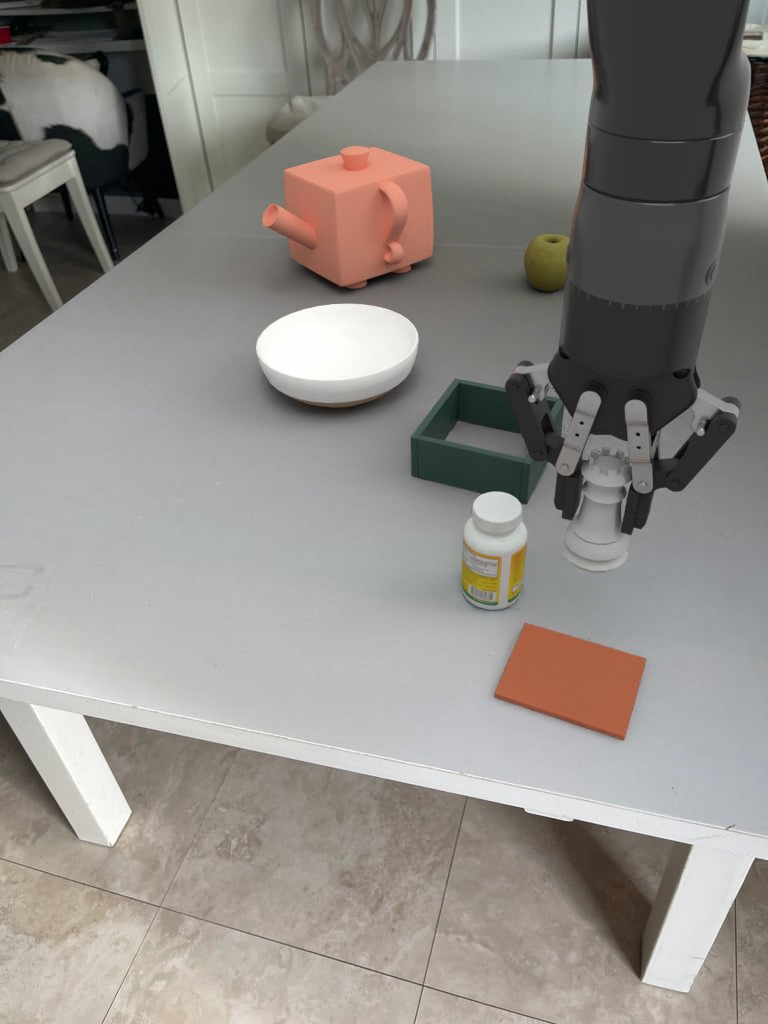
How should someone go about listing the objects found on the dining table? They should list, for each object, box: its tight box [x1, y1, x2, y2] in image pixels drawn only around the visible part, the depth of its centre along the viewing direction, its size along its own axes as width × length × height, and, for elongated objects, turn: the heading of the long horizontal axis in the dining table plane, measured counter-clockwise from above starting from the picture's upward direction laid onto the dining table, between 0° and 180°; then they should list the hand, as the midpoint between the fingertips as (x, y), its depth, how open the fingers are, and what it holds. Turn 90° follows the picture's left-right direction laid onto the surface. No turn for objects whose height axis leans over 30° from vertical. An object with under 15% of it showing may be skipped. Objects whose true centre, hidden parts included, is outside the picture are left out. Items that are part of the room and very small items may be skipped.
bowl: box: [255, 303, 420, 408], centre depth 98 cm, size 20×20×6 cm
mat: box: [493, 622, 647, 741], centre depth 63 cm, size 10×8×1 cm
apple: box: [523, 233, 570, 293], centre depth 117 cm, size 8×8×7 cm
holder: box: [409, 378, 565, 505], centre depth 85 cm, size 13×13×5 cm
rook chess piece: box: [560, 446, 632, 574], centre depth 53 cm, size 4×4×8 cm
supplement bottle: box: [460, 492, 528, 611], centre depth 68 cm, size 5×5×10 cm
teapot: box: [262, 145, 435, 290], centre depth 120 cm, size 25×23×18 cm
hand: (598, 518), depth 53 cm, fingers closed on rook chess piece, 3 cm apart
